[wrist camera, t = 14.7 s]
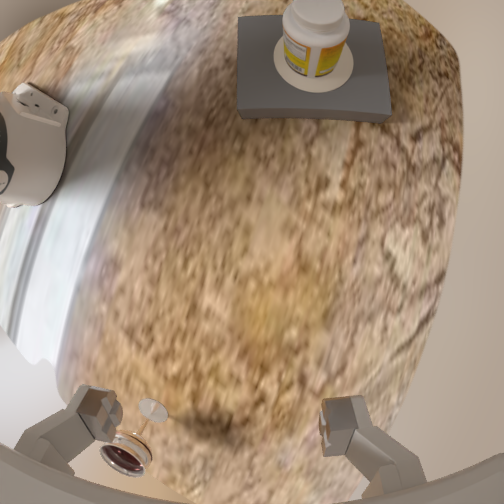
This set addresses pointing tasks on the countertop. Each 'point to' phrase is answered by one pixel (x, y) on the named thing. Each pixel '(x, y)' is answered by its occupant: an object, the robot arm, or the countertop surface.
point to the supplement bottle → (314, 36)
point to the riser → (311, 89)
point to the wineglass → (133, 443)
